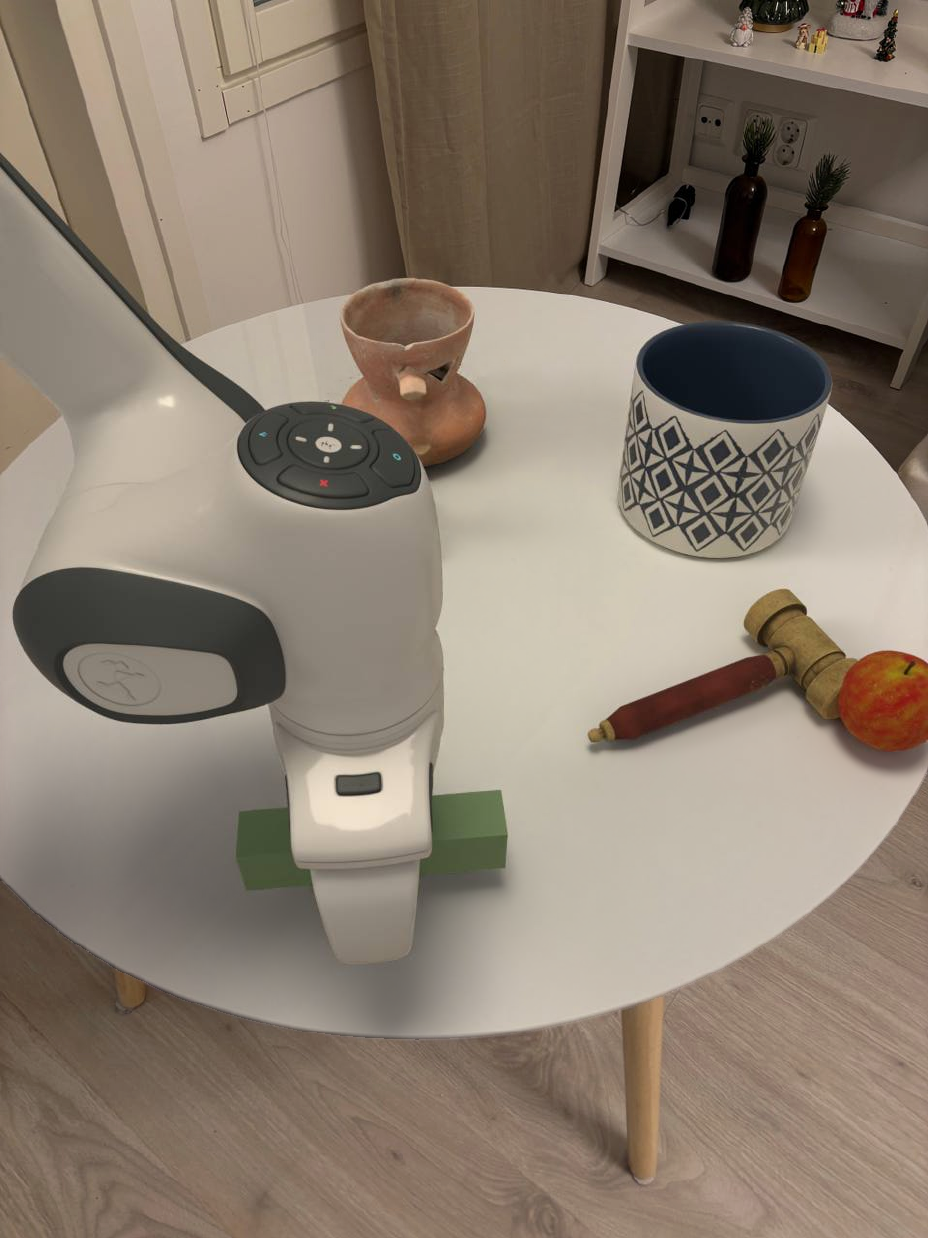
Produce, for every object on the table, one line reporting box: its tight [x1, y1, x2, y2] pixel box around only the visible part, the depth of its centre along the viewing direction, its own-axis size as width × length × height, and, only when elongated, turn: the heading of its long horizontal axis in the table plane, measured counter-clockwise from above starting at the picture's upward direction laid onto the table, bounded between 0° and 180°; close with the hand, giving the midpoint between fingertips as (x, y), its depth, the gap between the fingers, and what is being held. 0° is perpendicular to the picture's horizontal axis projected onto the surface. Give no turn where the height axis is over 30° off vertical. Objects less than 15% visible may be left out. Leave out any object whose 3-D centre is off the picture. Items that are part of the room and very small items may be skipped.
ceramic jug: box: [339, 277, 487, 468], centre depth 90 cm, size 18×14×14 cm
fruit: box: [837, 649, 928, 752], centre depth 66 cm, size 7×7×8 cm
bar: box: [234, 789, 509, 892], centre depth 58 cm, size 16×3×4 cm, turn 96°
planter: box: [617, 320, 833, 559], centre depth 82 cm, size 16×16×14 cm
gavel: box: [587, 588, 859, 744], centre depth 69 cm, size 21×5×10 cm
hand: (374, 843), depth 58 cm, fingers closed on bar, 3 cm apart
